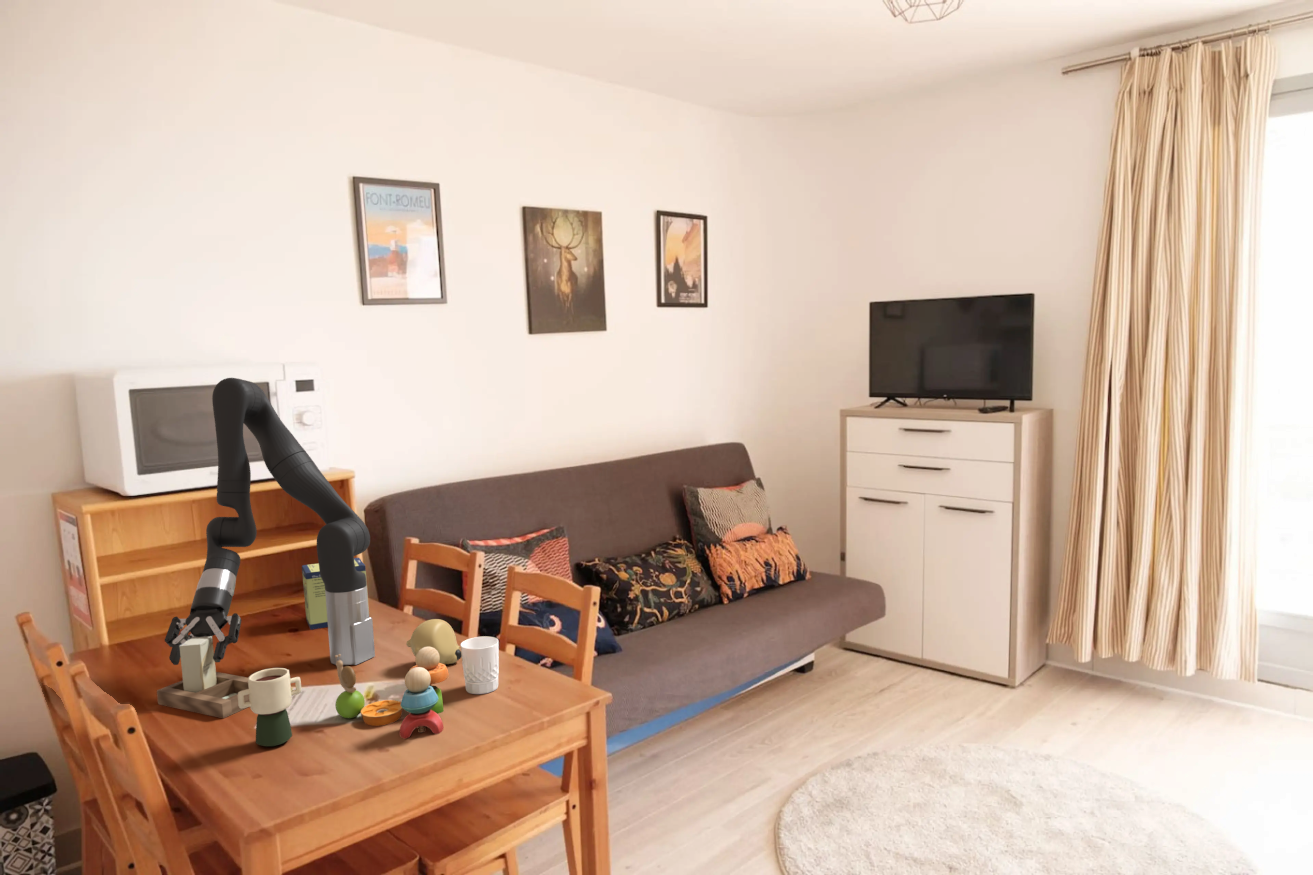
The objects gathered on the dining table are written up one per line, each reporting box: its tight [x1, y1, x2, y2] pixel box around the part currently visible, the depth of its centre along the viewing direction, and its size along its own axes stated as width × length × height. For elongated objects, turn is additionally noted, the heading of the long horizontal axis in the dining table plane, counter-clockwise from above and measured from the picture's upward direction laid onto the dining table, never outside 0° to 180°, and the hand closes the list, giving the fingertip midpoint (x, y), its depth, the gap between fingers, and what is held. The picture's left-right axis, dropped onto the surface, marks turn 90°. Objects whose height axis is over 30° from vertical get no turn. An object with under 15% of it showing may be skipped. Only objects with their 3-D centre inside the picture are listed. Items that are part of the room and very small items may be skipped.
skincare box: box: [179, 636, 217, 693], centre depth 181 cm, size 6×4×12 cm
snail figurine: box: [335, 654, 366, 719], centre depth 168 cm, size 5×6×12 cm
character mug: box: [238, 667, 302, 747], centre depth 157 cm, size 11×7×13 cm, turn 128°
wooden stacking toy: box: [360, 647, 450, 740], centre depth 165 cm, size 18×17×12 cm
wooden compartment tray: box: [156, 671, 250, 719], centre depth 179 cm, size 20×12×3 cm, turn 65°
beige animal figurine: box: [406, 618, 462, 665], centre depth 196 cm, size 10×12×11 cm
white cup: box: [459, 636, 500, 695], centre depth 180 cm, size 8×8×10 cm
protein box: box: [301, 557, 370, 631], centre depth 232 cm, size 10×16×16 cm
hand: (195, 661), depth 179 cm, fingers open, 8 cm apart
